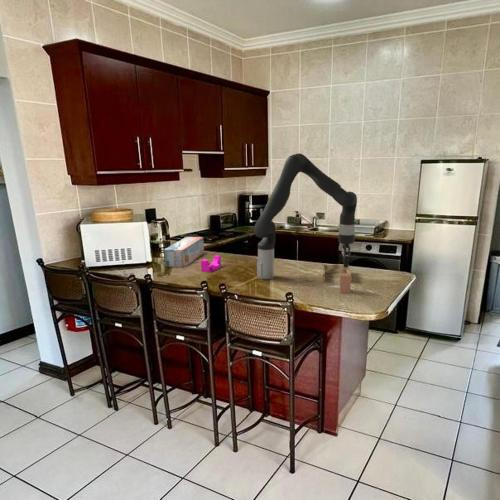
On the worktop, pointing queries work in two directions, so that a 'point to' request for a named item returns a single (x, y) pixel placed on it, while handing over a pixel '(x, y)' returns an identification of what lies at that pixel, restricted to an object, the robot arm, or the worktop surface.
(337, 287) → the board
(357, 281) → the worktop surface
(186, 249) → the soda box
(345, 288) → the block
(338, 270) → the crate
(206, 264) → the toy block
